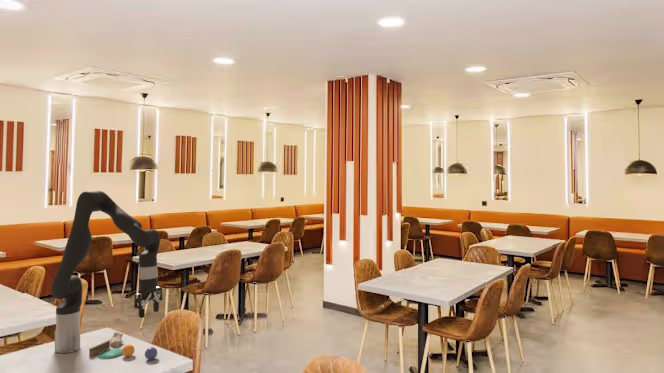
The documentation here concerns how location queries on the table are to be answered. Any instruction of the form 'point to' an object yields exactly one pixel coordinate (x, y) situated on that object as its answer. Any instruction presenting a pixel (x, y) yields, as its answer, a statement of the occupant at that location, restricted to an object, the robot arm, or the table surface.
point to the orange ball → (128, 350)
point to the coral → (116, 339)
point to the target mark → (110, 354)
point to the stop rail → (99, 348)
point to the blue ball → (151, 353)
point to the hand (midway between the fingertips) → (149, 314)
